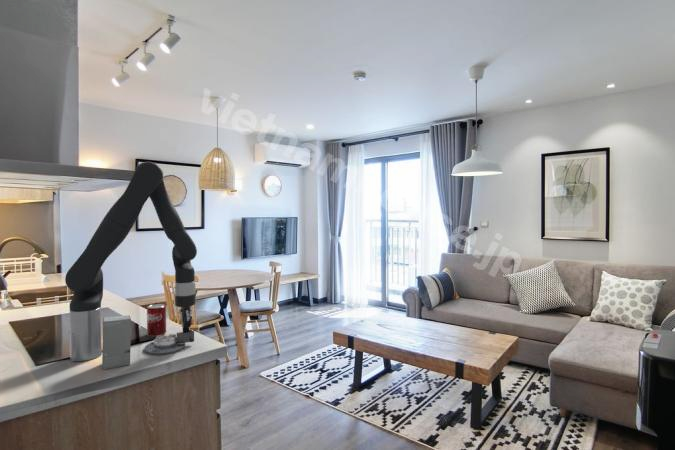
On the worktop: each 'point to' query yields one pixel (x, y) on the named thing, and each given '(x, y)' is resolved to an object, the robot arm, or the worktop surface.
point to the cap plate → (156, 351)
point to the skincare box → (116, 341)
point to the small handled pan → (173, 339)
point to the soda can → (156, 320)
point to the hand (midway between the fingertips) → (185, 336)
